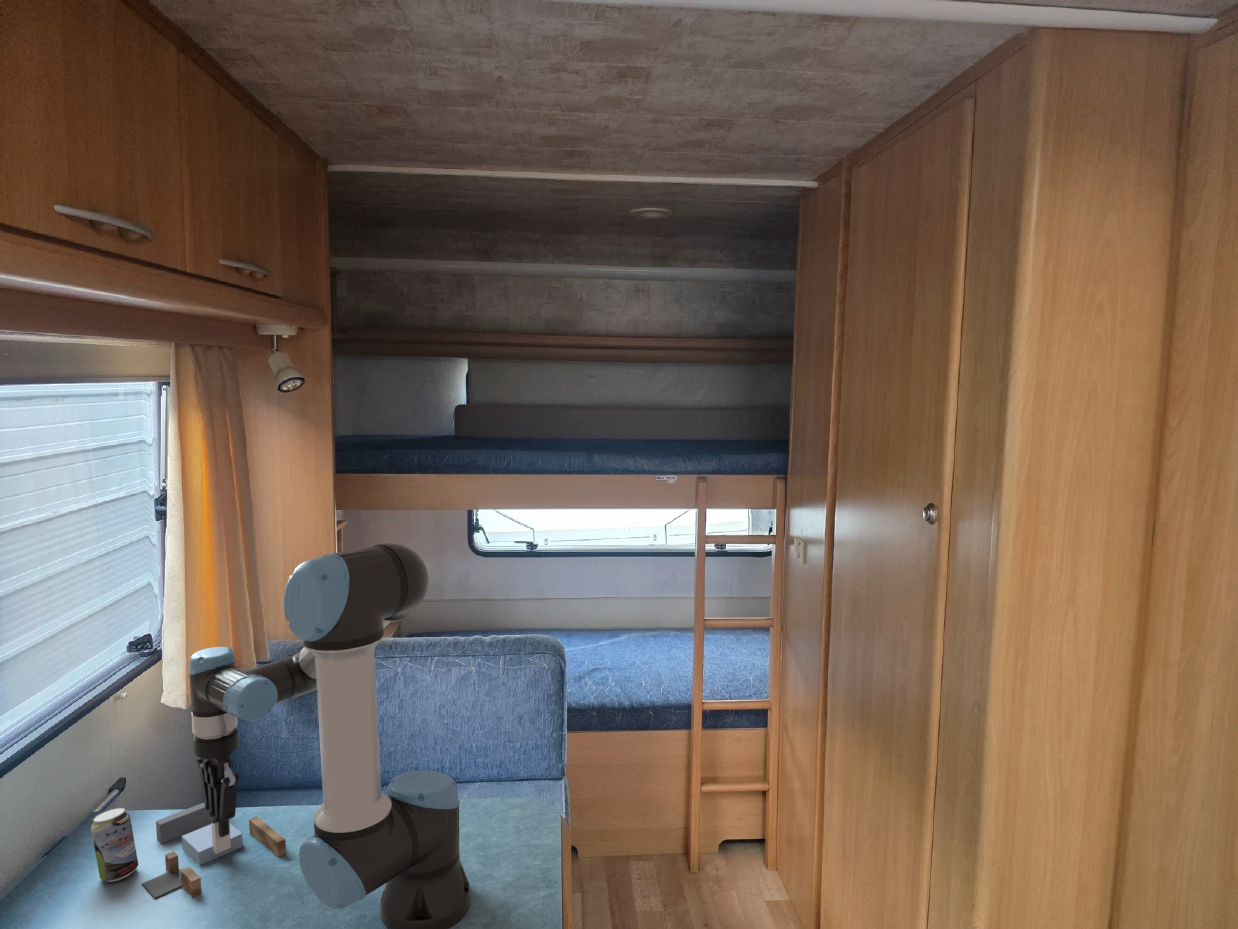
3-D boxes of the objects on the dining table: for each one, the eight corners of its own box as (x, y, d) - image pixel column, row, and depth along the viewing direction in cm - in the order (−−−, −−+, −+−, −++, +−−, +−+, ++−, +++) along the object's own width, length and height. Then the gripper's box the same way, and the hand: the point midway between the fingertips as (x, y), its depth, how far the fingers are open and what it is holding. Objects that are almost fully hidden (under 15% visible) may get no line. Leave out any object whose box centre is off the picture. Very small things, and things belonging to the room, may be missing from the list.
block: (242, 848, 154) (242, 833, 153) (199, 867, 148) (198, 852, 147) (225, 832, 159) (224, 818, 159) (182, 850, 153) (181, 836, 152)
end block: (223, 818, 163) (222, 800, 163) (160, 844, 154) (159, 824, 154) (219, 814, 165) (218, 796, 164) (157, 840, 156) (155, 821, 155)
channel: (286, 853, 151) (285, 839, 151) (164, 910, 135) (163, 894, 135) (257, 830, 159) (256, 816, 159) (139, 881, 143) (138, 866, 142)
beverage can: (120, 889, 141) (115, 825, 139) (85, 883, 142) (80, 821, 141) (147, 867, 147) (143, 807, 146) (114, 862, 148) (109, 802, 147)
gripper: (251, 734, 146) (257, 854, 149) (221, 714, 154) (227, 828, 157) (209, 748, 140) (216, 872, 143) (180, 727, 149) (187, 845, 151)
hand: (222, 849), depth 150 cm, fingers closed
